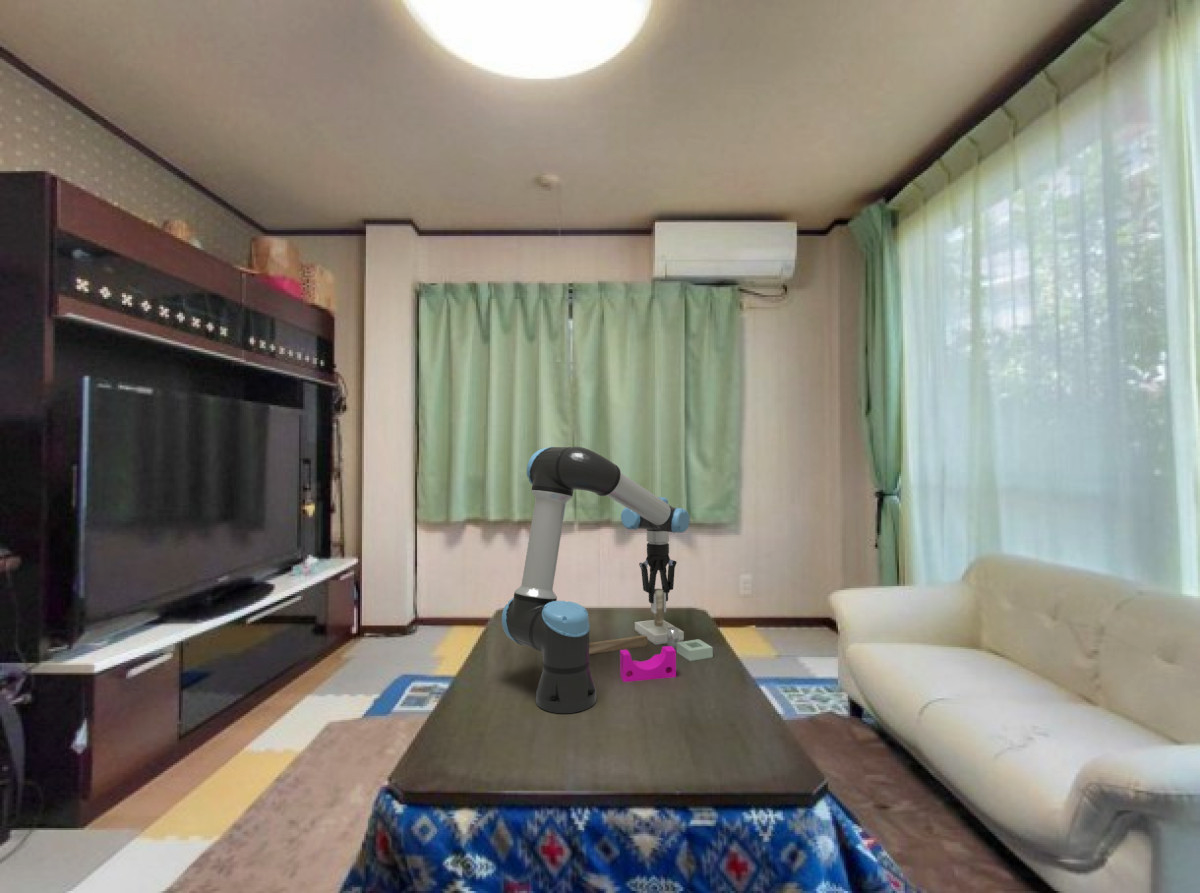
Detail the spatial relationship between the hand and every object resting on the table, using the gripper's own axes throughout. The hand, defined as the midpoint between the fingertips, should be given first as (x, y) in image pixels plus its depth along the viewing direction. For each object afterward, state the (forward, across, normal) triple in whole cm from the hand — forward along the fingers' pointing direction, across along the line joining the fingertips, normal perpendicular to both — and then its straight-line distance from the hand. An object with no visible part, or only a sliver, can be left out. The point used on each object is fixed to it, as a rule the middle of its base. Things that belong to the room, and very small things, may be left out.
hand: (658, 611), depth 186 cm
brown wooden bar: (+8, +19, +7) cm, 22 cm away
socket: (+8, -2, +20) cm, 22 cm away
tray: (+8, 0, 0) cm, 8 cm away
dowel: (+5, 0, 0) cm, 5 cm away
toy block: (+8, +18, +28) cm, 35 cm away
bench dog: (+8, +1, +12) cm, 15 cm away
